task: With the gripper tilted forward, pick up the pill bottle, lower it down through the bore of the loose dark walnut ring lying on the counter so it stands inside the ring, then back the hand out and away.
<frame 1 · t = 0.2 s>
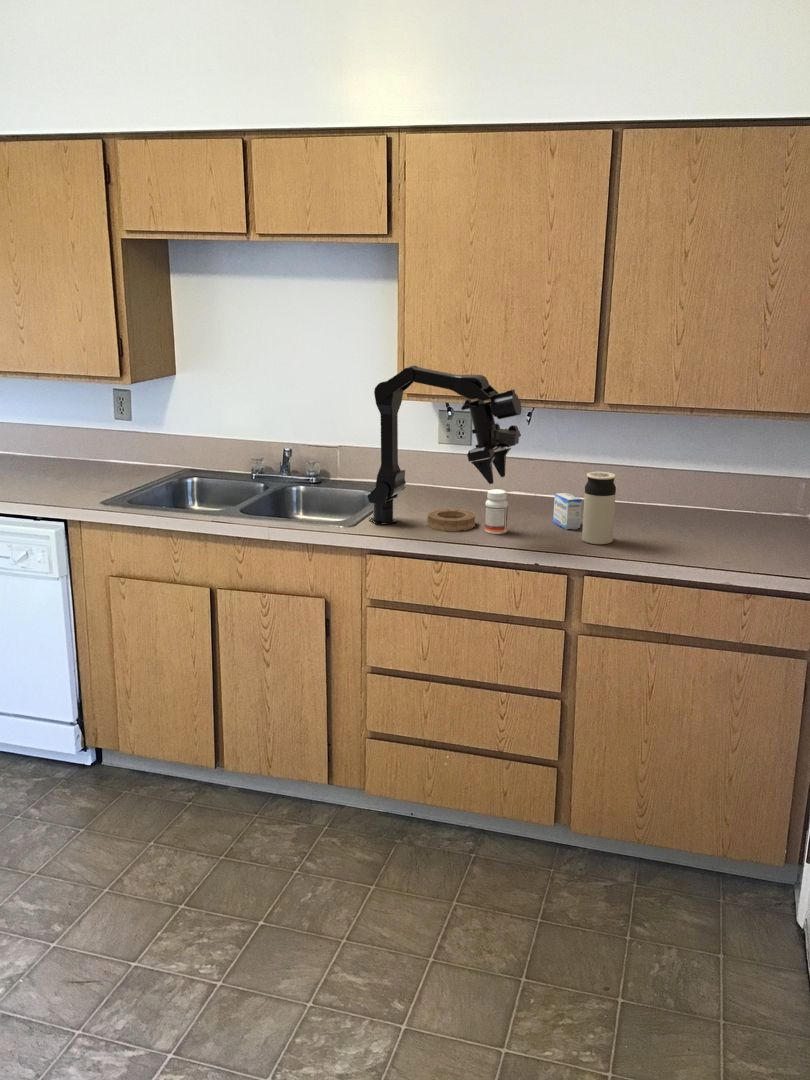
hand: (497, 480, 266), 15 cm above the table, tool tilted 15°, fingers open, 9 cm apart
medicine box: (566, 526, 281), on the table
pill bottle: (495, 532, 275), on the table
walnut ring: (451, 524, 281), on the table
travel mug: (597, 541, 266), on the table
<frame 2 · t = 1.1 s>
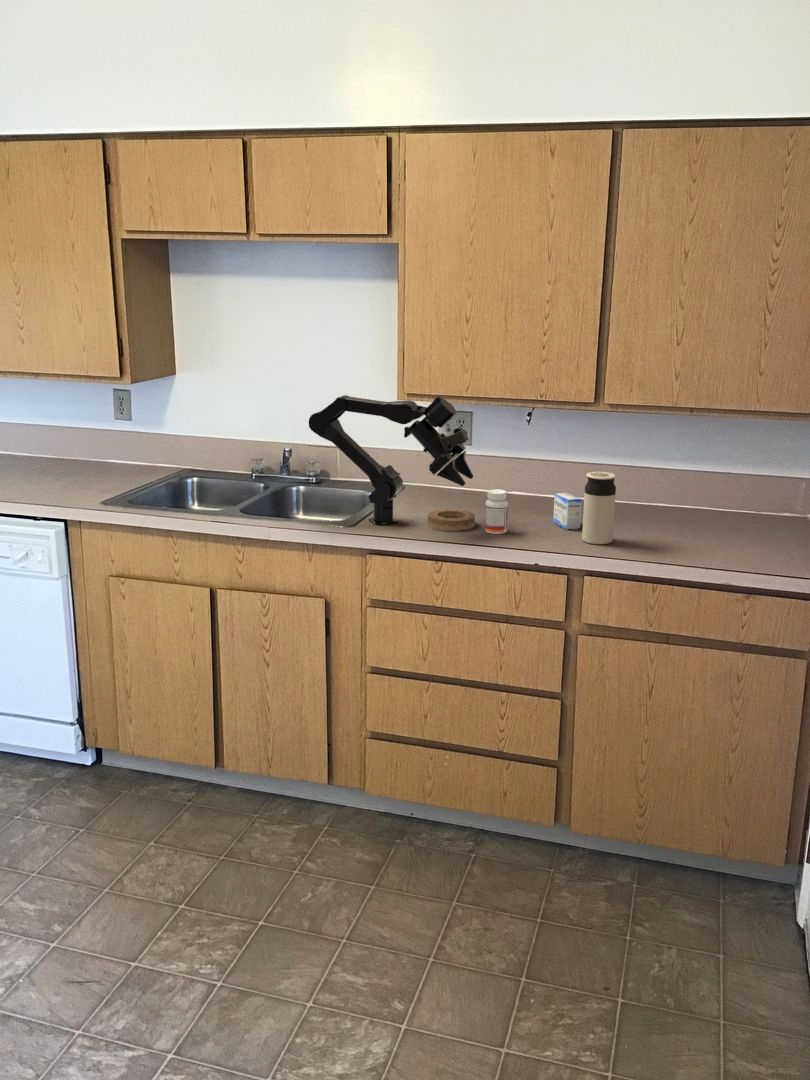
hand: (468, 481, 273), 13 cm above the table, tool tilted 45°, fingers open, 9 cm apart
nothing on the table moved.
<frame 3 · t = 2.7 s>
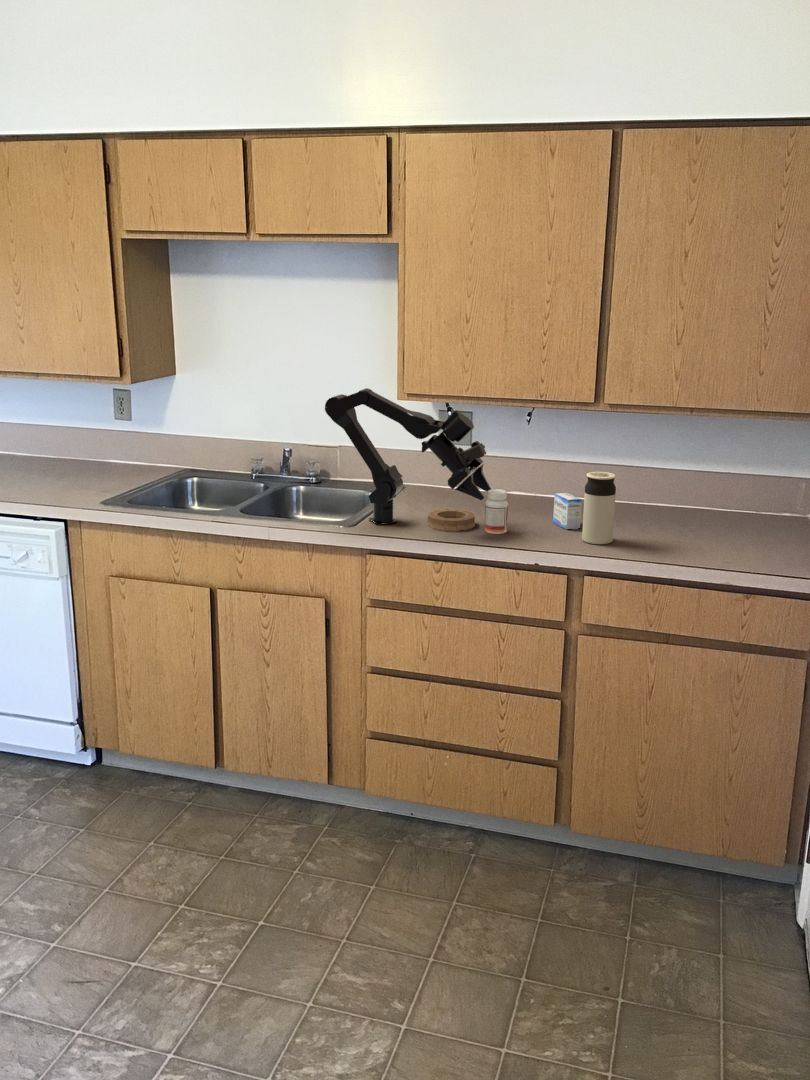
hand: (486, 495, 273), 10 cm above the table, tool tilted 45°, fingers open, 9 cm apart
nothing on the table moved.
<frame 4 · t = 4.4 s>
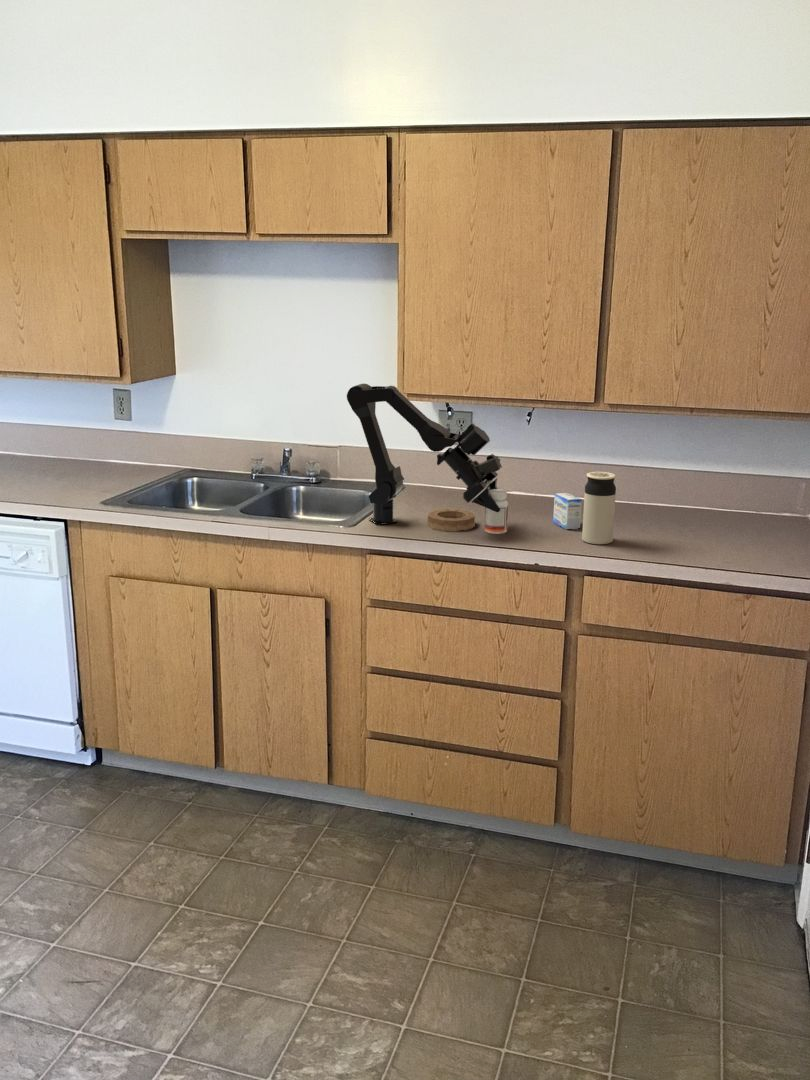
hand: (501, 508, 273), 7 cm above the table, tool tilted 45°, fingers closed on pill bottle, 6 cm apart
pill bottle: (495, 532, 275), on the table, touching gripper
everything else where it was.
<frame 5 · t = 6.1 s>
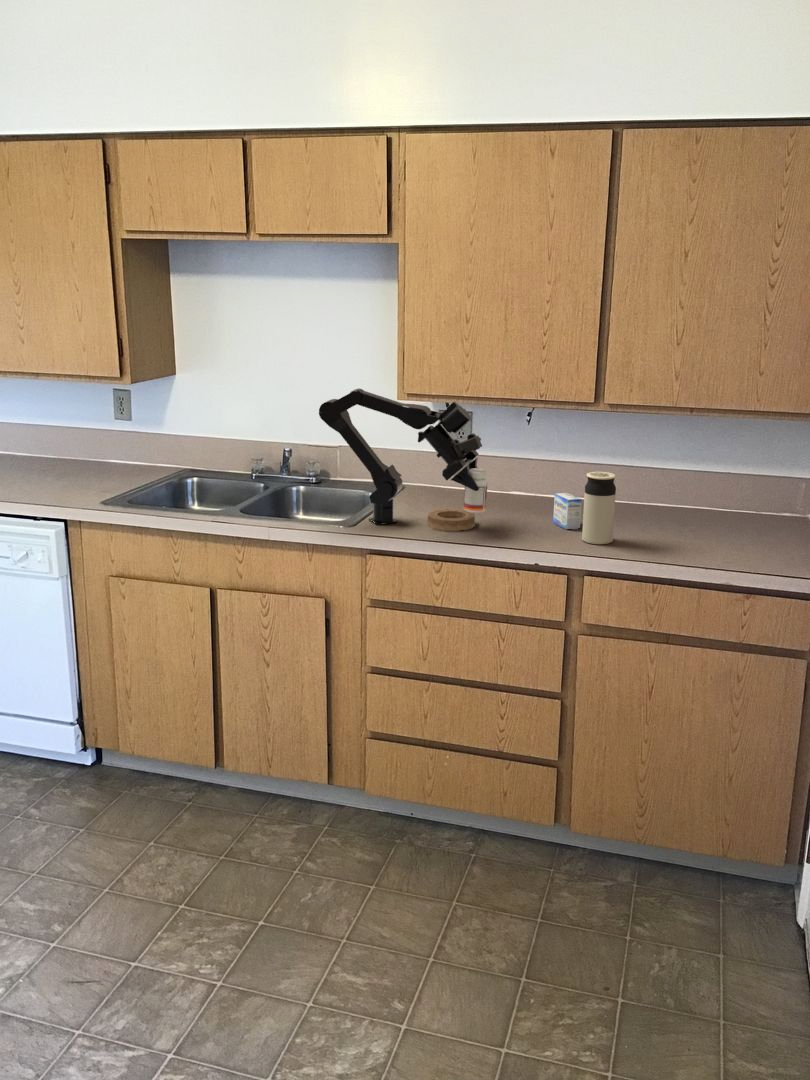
hand: (480, 487, 274), 12 cm above the table, tool tilted 45°, fingers closed on pill bottle, 6 cm apart
pill bottle: (474, 511, 276), point 5 cm above the table, touching gripper
everything else where it was.
when the fingers open (8 cm above the table, at t = 8.1 s): pill bottle drops 2 cm, resting in walnut ring.
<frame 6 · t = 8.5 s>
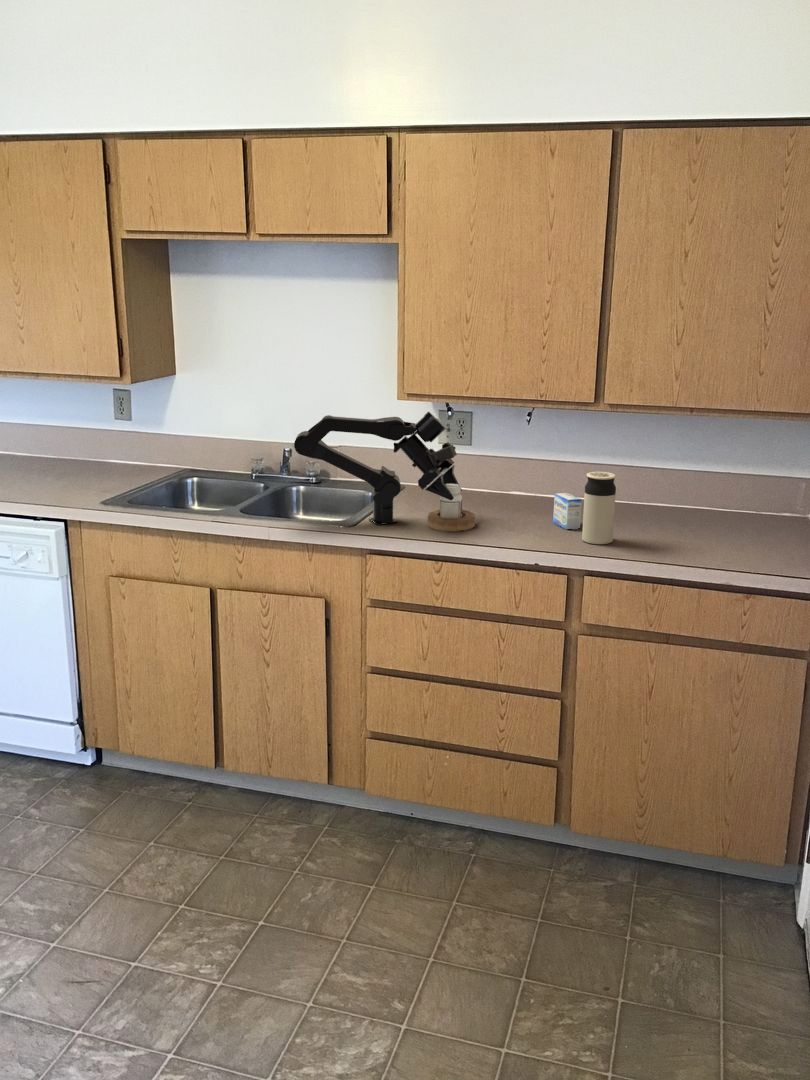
hand: (456, 495, 278), 9 cm above the table, tool tilted 45°, fingers open, 9 cm apart
pill bottle: (450, 525, 281), resting in walnut ring
everything else where it was.
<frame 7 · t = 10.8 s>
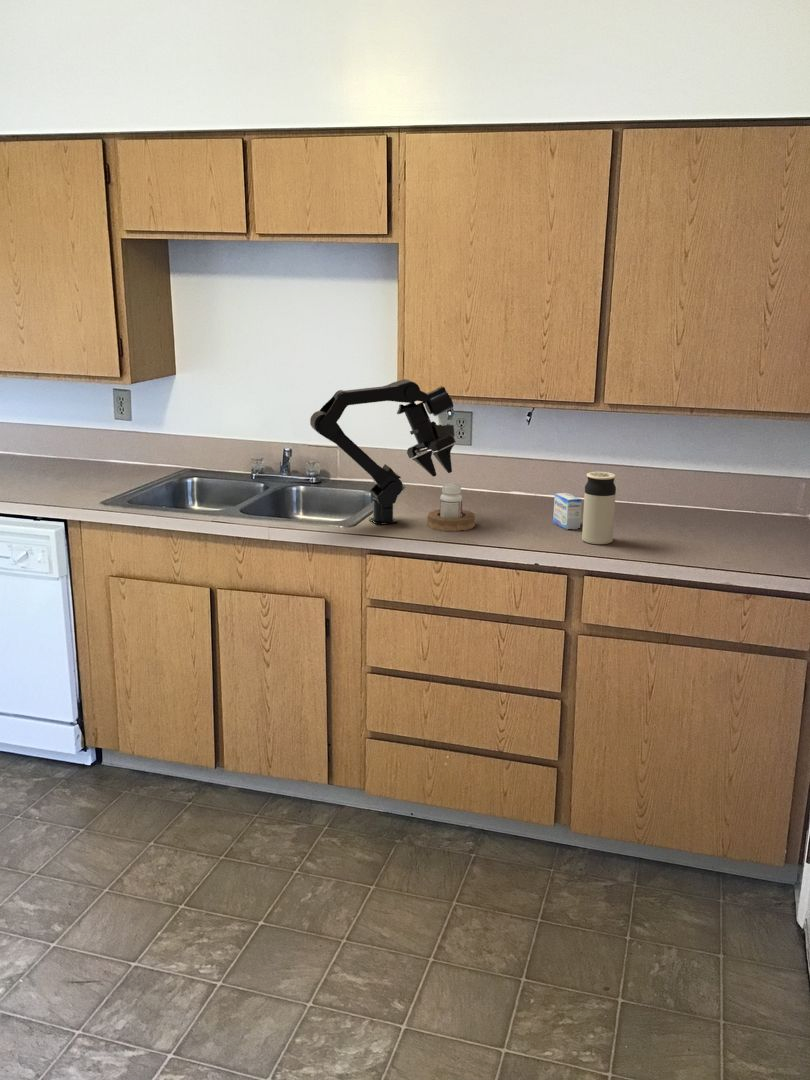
hand: (442, 474, 281), 14 cm above the table, tool tilted 25°, fingers open, 9 cm apart
nothing on the table moved.
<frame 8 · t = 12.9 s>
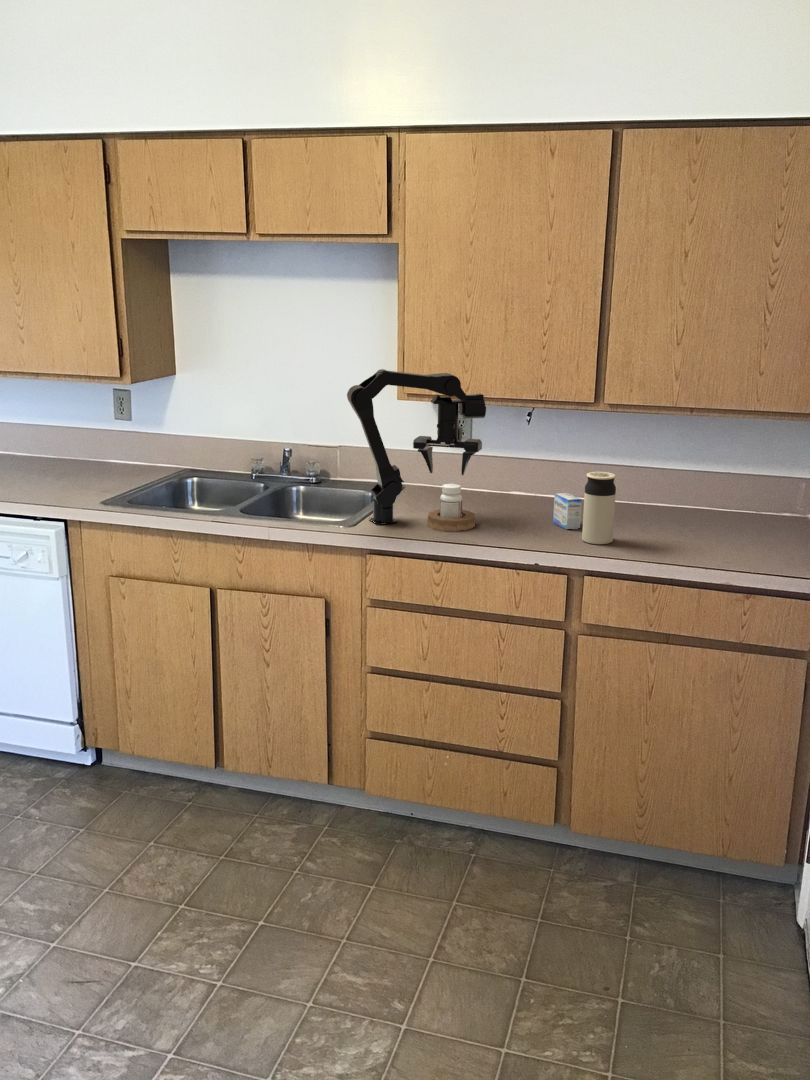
hand: (447, 474, 284), 13 cm above the table, tool pointing down, fingers open, 9 cm apart
nothing on the table moved.
at the end: pill bottle 0.1 cm off-centre on the walnut ring, point 0.0 cm above the walnut ring's base; pill bottle tilted 0°; the gripper is holding nothing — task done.
